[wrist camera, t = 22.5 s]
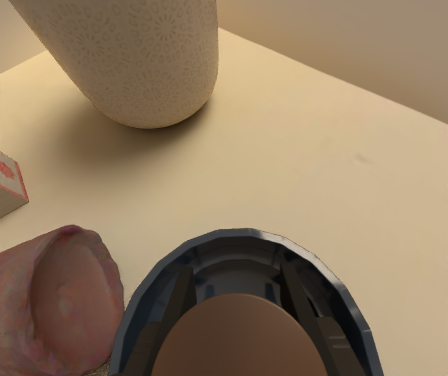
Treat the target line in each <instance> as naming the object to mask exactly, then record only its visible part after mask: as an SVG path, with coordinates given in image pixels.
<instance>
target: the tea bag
mask: <svg viewBox="0 0 448 376" xmlns="http://www.w3.org/2000/svg"><path fill="white" fill-rule="evenodd" d="M27 202H29V200H28V197H27V194H26V190H25V187H24V184H23V180H22V177H21V174H20V170H19V167H18V164H17V162H16V161H14V160H13V159H11V158H10V157H8V156H7V155H5V154H3V153H2V152H0V217H2V216H4V215H6V214H8V213H9V212H11V211H13V210H15V209H17V208H18V207H20V206H22V205H24V204H26V203H27Z"/></svg>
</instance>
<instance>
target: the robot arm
mask: <svg viewBox="0 0 448 376" xmlns="http://www.w3.org/2000/svg"><path fill="white" fill-rule="evenodd" d="M280 301H281V305H282V309H284V310H285V311H286V312H287V313H289V314H290V315H291V316H292V317H293V318H294V319H295V320H296V321H297V322H298V323H299V324H300V325H301V326H302V328H303V329H304V330H305V332H306V333H307V334H308V336H309V337H310V339H311V340H312V342H313V344H314V345H315V347H316V349H317V350H318V353H319V355H320V357H321V359H322V361H323V363H324V366H325V369H326V372H327V375H328V376H366V374H365V372H364V370H363V368H362V366H361V364H360V363H359V361H358V359H357V357H356V355H355V353H354V351H353V349H352V348H351V345H350V344H349V342H348V340H347V339H346V336H345V334H344V332H343V330H342V328H341V326H340V325H339V324H338V323H337V322H336V321H335V320H334V319H333V318H332V317H315V315H314V313H313V310H312V308H311V306H310V303H309V301H308V299H307V296H306V294H305V291H304V289H303V287H302V284H301V282H300V280H299V277H298V275H297V273H296V270H295V268H294V265H293V263H280ZM195 305H197V297H196V289H195V281H194V273H193V267H181V268H180V271H179V274H178V277H177V279H176V282H175V285H174V288H173V291H172V294H171V296H170V299H169V302H168V305H167V308H166V310H165V313H164V316H163V319H162V322H148V323H147V324H146V325H145V327H144V328H143V329H142V330H141V331H140V333H139V335H138V338H137V340H136V344H135V345H134V347H133V349H132V353H131V354H130V356H129V358H128V360H127V363H126V365H125V367H124V370H123V372H122V373H117V374H113V375H111V376H151V373H152V369H153V365H154V363H155V360H156V357H157V354H158V352H159V350H160V348H161V346H162V344H163V342H164V340H165V338H166V336H167V335H168V333H169V332H170V330H171V329H172V327H173V326H174V325H175V324H176V322H177V321H178V320H179V319H180V318H181V317H182V316H183V315H184V314H185V313H186V312H187V311H188V310H190V309H191V308H192V307H194V306H195Z"/></svg>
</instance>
